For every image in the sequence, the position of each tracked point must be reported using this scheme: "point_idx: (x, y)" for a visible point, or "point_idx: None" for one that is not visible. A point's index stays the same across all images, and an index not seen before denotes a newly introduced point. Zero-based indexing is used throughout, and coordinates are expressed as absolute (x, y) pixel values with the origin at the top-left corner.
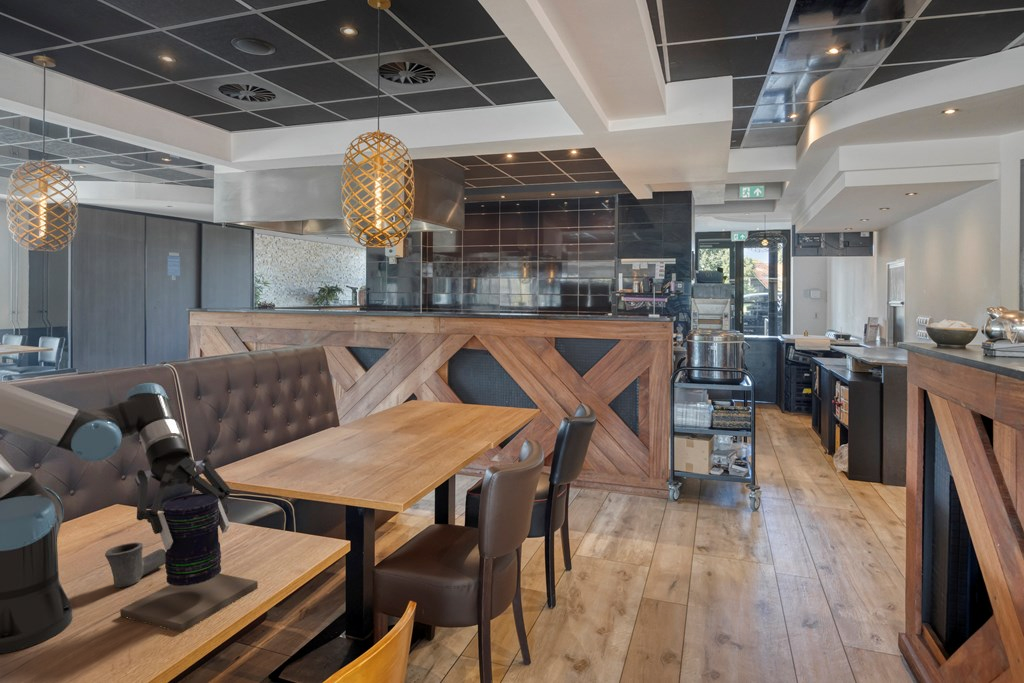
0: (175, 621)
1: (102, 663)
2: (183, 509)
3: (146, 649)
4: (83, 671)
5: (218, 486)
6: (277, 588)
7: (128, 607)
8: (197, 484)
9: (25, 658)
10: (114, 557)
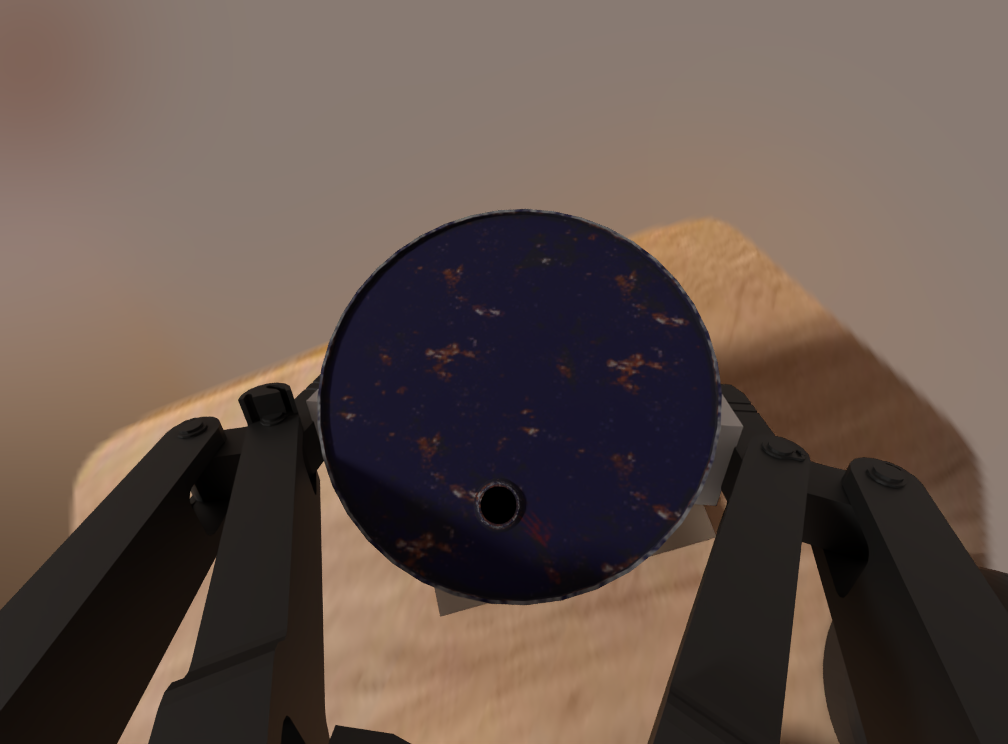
0: None
1: (790, 326)
2: (629, 241)
3: (702, 310)
4: (829, 325)
5: (184, 517)
6: None
7: (696, 525)
8: (304, 611)
9: (946, 501)
10: None
